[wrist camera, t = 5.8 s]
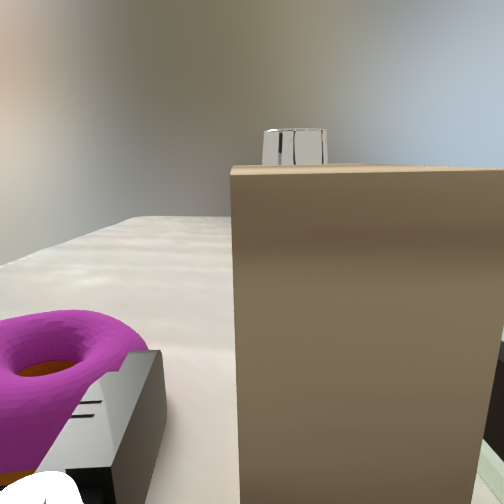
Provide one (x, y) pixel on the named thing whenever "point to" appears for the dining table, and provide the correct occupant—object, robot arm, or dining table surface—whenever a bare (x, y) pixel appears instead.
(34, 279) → the dining table surface
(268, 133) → the shiny metal tumbler
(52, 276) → the dining table surface
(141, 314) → the dining table surface
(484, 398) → the oak block
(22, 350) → the donut
